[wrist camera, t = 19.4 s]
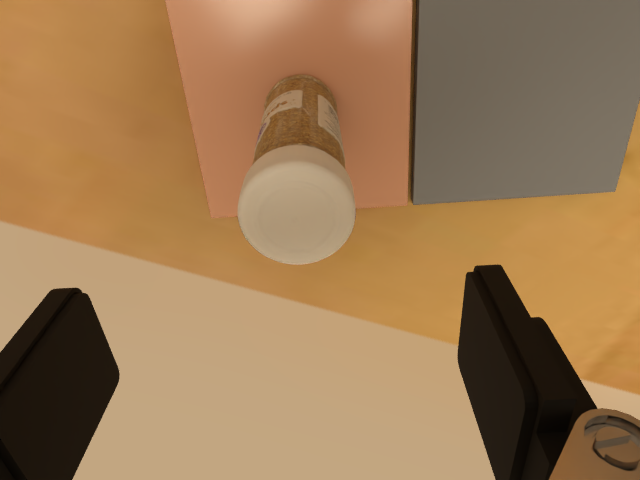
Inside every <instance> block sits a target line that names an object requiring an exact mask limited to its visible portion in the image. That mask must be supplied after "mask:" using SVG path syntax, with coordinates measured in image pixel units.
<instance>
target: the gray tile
mask: <svg viewBox="0 0 640 480" xmlns="http://www.w3.org/2000/svg"><path fill="white" fill-rule="evenodd" d="M639 100H640V0H416V28H415V65H414V102H413V138H412V175H411V200H412V203H413V205H419V204H435V203H450V202H465V201H480V200H496V199H511V198H526V197H541V196H556V195H572V194H587V193H602V192H615V190H616V187H617V183H618V179H619V175H620V172H621V168H622V164H623V160H624V156H625V153H626V149H627V145H628V141H629V138H630V134H631V130H632V126H633V122H634V119H635V115H636V111H637V107H638V104H639Z"/></svg>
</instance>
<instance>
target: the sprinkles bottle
mask: <svg viewBox="0 0 640 480" xmlns="http://www.w3.org/2000/svg"><path fill="white" fill-rule="evenodd" d="M355 217H356V208H355V198H354V191H353V186H352V182H351V180H350V177H349V175H348V173H347V171H346V170H345V155H344V149H343V144H342V138H341V131H340V125H339V120H338V116H337V104H336V100H335V98H334V96H333V94H332V92H331V90H330V89H329V88H328V87H327V86H326V85H325V84H324V83H323V82H322V81H320V80H318V79H316V78H314V77H312V76H310V75H302V74H301V75H293V76H289V77H286V78H284V79H282V80H280V81H279V82H278V83H277V84H275V85H274V86H273V88H272V89H271V90H270V92H269V93H268V95H267V97H266V101H265V104H264V115H263V117H262V121H261V125H260V130H259V134H258V138H257V143H256V147H255V152H254V160H253V164H252V166H251V167H250V169H249V170H248V172H247V174H246V176H245V178H244V181H243V184H242V188H241V192H240V196H239V201H238V221H239V225H240V227H241V230H242V232H243V234H244V236H245V238H246V239H247V241H248V242H249V243H250V244H251V245H252V246H253V247H254V248H255V249H256V250H257V251H258V252H260V253H261V254H263V255H264V256H266V257H268V258H270V259H272V260H275V261H278V262H281V263H285V264H297V265H300V264H309V263H314V262H317V261H320V260H322V259H325V258H327V257H329V256H330V255H332V254H333V253H335V252H336V251H337V250H339V249H340V248H341V247H342V246H343V244H344V243H345V242H346V241H347V239H348V237H349V236H350V234H351V232H352V230H353V227H354V223H355Z"/></svg>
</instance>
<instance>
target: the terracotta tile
mask: <svg viewBox="0 0 640 480" xmlns="http://www.w3.org/2000/svg"><path fill="white" fill-rule="evenodd" d="M165 2H166V6H167V11H168V16H169V21H170V25H171V30H172V35H173V40H174V44H175V49H176V54H177V59H178V63H179V68H180V73H181V77H182V82H183V87H184V92H185V96H186V101H187V106H188V111H189V115H190V120H191V125H192V130H193V134H194V139H195V144H196V148H197V153H198V158H199V163H200V167H201V172H202V177H203V182H204V186H205V191H206V196H207V201H208V205H209V210H210V215H211V218H221V217H236V216H238V201H239V196H240V192H241V188H242V184H243V181H244V178H245V176H246V174H247V172H248V170H249V169H250V167H251V166H252V164H253V160H254V152H255V147H256V143H257V138H258V134H259V130H260V125H261V121H262V117H263V115H264V104H265V101H266V97H267V95H268V93H269V92H270V90H271V89H272V88H273V86H274V85H275V84H277V83H278V82H279V81H280V80H282V79H284V78H286V77H289V76H293V75H301V74H302V75H310V76H312V77H314V78H316V79H318V80H320V81H322V82H323V83H324V84H325V85H326V86H327V87H328V88H329V89H330V90H331V92H332V94H333V96H334V98H335V100H336V104H337V116H338V120H339V125H340V131H341V138H342V144H343V149H344V155H345V170H346V171H347V173H348V175H349V177H350V180H351V182H352V186H353V191H354V198H355V208H356V209H358V208H374V207H389V206H404V205H407V203H408V160H409V118H410V76H411V33H412V0H165Z"/></svg>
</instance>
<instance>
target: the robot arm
mask: <svg viewBox="0 0 640 480" xmlns="http://www.w3.org/2000/svg"><path fill="white" fill-rule="evenodd" d="M458 364H459V368H460V372H461V375H462V378H463V381H464V384H465V387H466V390H467V393H468V396H469V399H470V402H471V405H472V408H473V412H474V414H475V418H476V421H477V424H478V427H479V430H480V433H481V436H482V439H483V442H484V445H485V448H486V451H487V454H488V457H489V460H490V464H491V467H492V470H493V473H494V476H495V479H496V480H640V420H638V419H636V418H634V417H633V416H631V415H629V414H625V413H623V412H620V411H617V410H611V409H603V408H601V409H597V407H596V405H595V404H594V402H593V400H592V399H591V397H590V395H589V394H588V392H587V390H586V389H585V387H584V386H583V384H582V382H581V380H580V379H579V377H578V375H577V374H576V372H575V370H574V369H573V367H572V365H571V364H570V362H569V360H568V359H567V357H566V355H565V354H564V352H563V350H562V349H561V347H560V345H559V344H558V342H557V340H556V339H555V337H554V335H553V334H552V332H551V330H550V329H549V327H548V325H547V324H546V322H545V321H544V320H543V319H542V318H540V317H534V318H531V317H530V315H529V313H528V311H527V310H526V308H525V306H524V304H523V303H522V301H521V299H520V297H519V296H518V294H517V292H516V290H515V289H514V287H513V285H512V283H511V282H510V280H509V278H508V276H507V274H506V273H505V271H504V269H503V267H502V266H501V265H482V266H475V268H474V271H473V272H468V273H467V274H466V280H465V289H464V299H463V308H462V318H461V327H460V336H459V346H458ZM118 382H119V370H118V366H117V364H116V362H115V359H114V357H113V354H112V352H111V349H110V347H109V344H108V342H107V339H106V337H105V335H104V332H103V330H102V327H101V325H100V322H99V320H98V318H97V315H96V312H95V310H94V308H93V305H92V302H91V300H90V298H89V296H88V295H87V294H86V293H82V291H81V290H80V289H79V288H62V289H53V290H51V291H50V292H49V293H48V294H47V295H46V297H45V298H44V299H43V301H42V302H41V303H40V304H39V305H38V307H37V308H36V309H35V310H34V312H33V313H32V314H31V315H30V317H29V318H28V319H27V320H26V321H25V323H24V324H23V325H22V327H21V328H20V329H19V330H18V331H17V333H16V334H15V335H14V336H13V338H12V339H11V340H10V341H9V342H8V344H7V345H6V346H5V347H4V349H3V350H2V351H1V352H0V480H72V479H73V477H74V475H75V472H76V470H77V468H78V466H79V464H80V462H81V460H82V458H83V456H84V454H85V452H86V449H87V447H88V445H89V443H90V441H91V439H92V437H93V435H94V433H95V431H96V429H97V426H98V424H99V422H100V420H101V418H102V416H103V414H104V412H105V409H106V408H107V405H108V403H109V401H110V399H111V397H112V395H113V393H114V391H115V389H116V387H117V384H118Z"/></svg>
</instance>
